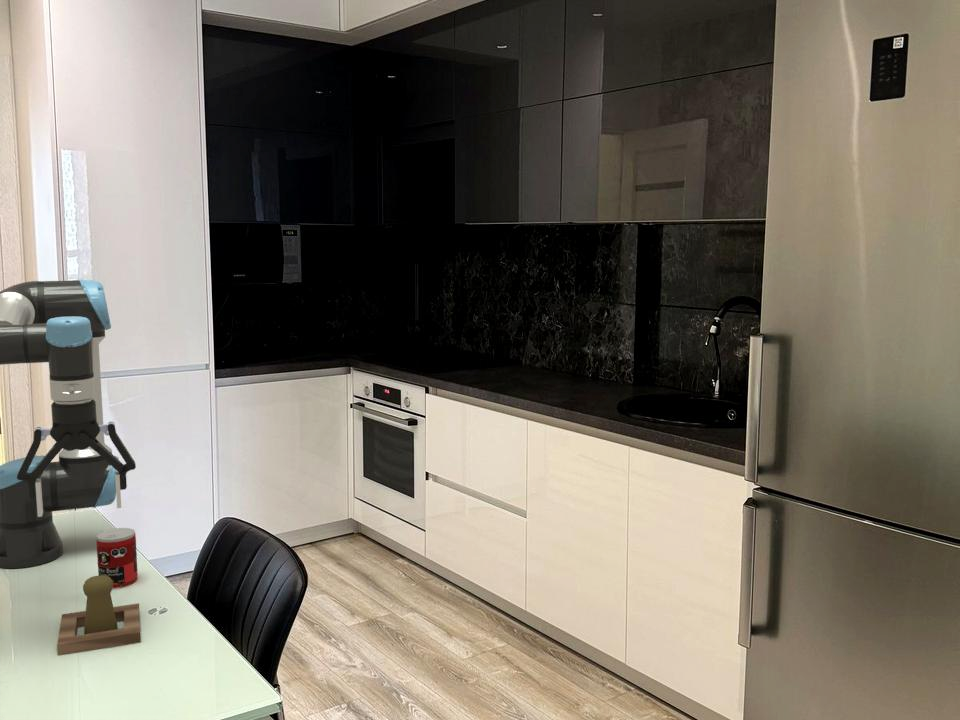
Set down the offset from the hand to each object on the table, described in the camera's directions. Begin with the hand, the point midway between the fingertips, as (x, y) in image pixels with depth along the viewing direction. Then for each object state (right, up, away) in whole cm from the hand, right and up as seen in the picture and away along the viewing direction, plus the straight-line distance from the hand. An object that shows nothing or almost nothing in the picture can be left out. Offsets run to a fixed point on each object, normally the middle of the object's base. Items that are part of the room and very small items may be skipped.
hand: (80, 510), depth 167 cm
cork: (+4, -24, +1) cm, 24 cm away
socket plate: (+3, -24, +1) cm, 24 cm away
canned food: (-3, -20, +26) cm, 33 cm away
